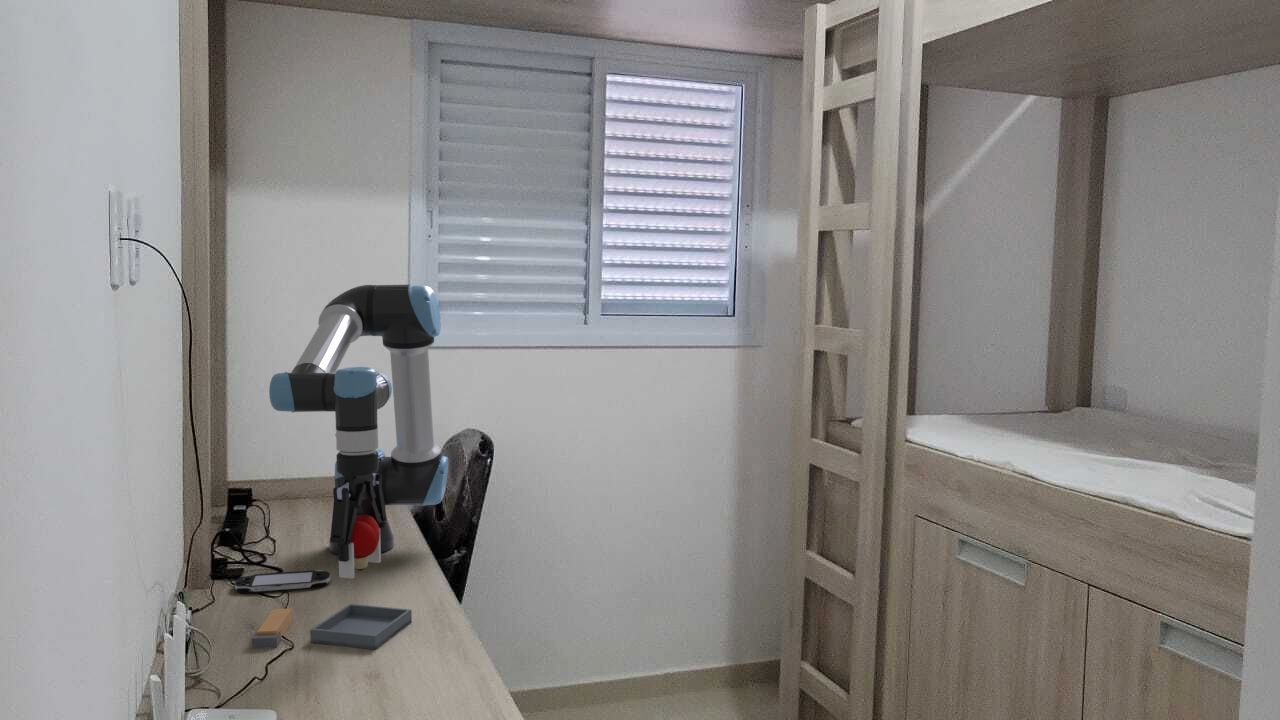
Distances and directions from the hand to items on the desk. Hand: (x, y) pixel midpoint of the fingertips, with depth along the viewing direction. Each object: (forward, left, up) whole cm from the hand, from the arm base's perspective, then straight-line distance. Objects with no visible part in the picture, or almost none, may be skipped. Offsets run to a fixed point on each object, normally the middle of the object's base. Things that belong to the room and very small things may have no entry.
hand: (360, 569), depth 194 cm
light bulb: (0, 0, 0) cm, 0 cm away
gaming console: (-20, -30, -13) cm, 39 cm away
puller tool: (+4, -16, -12) cm, 21 cm away
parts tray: (0, 0, -12) cm, 12 cm away
